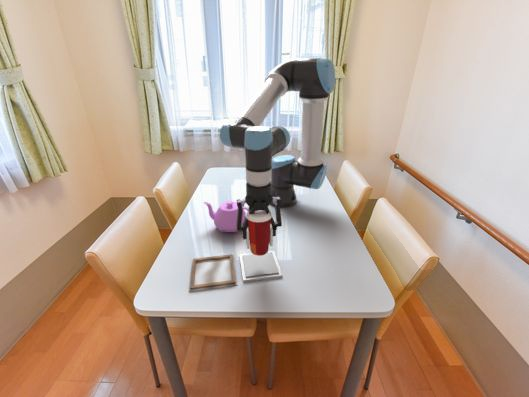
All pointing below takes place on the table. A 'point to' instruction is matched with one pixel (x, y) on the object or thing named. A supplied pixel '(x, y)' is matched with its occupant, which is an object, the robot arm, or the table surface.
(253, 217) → the coffee cup
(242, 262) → the ink pad
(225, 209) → the teapot
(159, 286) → the table surface
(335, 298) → the table surface
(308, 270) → the table surface
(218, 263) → the wooden picture frame
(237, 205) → the robot arm
